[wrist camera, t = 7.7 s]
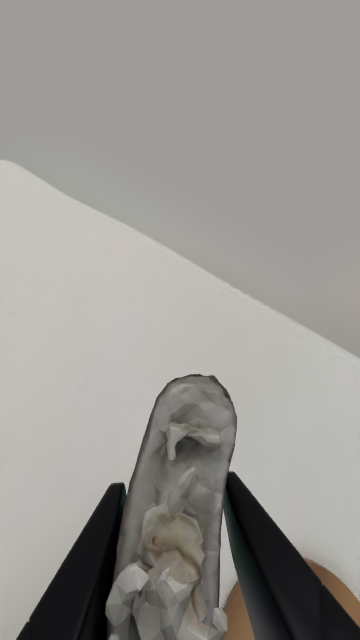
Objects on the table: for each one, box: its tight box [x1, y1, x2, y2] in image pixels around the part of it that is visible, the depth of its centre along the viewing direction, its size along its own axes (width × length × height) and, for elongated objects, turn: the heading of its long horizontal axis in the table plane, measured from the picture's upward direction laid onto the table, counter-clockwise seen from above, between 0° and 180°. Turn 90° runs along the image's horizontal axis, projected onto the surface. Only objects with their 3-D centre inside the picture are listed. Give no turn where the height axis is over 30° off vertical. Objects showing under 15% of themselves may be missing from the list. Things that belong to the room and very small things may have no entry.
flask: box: [105, 374, 237, 640], centre depth 9 cm, size 9×3×11 cm, turn 175°
